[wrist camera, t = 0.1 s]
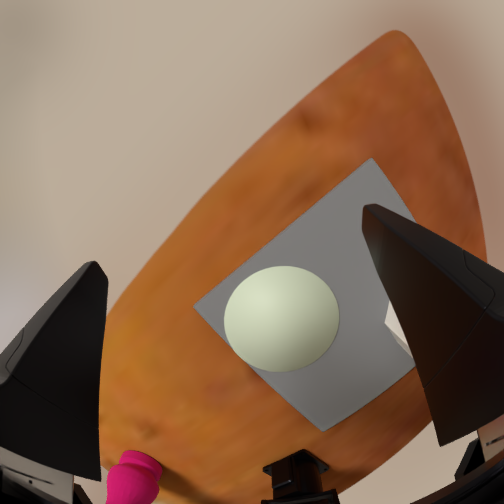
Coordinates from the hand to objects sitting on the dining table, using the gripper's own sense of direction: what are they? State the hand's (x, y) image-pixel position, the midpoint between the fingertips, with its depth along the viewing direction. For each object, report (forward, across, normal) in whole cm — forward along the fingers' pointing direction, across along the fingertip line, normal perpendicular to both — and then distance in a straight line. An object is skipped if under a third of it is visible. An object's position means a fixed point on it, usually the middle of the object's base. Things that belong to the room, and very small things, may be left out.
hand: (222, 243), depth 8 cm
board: (+7, -8, +16) cm, 19 cm away
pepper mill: (-3, +22, +33) cm, 39 cm away
